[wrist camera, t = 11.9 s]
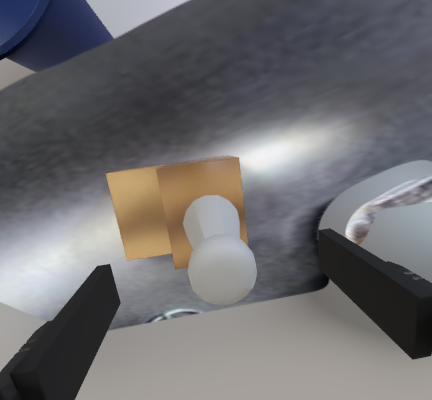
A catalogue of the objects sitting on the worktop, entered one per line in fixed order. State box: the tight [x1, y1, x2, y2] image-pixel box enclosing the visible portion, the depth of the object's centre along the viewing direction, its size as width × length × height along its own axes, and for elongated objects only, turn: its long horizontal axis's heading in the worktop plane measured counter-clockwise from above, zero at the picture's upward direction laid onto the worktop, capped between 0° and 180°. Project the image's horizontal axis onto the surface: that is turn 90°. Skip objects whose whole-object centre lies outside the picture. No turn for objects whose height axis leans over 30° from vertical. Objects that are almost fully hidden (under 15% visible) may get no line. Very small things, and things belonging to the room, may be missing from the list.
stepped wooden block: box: [106, 156, 248, 269], centre depth 29 cm, size 12×16×8 cm
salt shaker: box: [183, 195, 257, 305], centre depth 19 cm, size 6×6×13 cm
